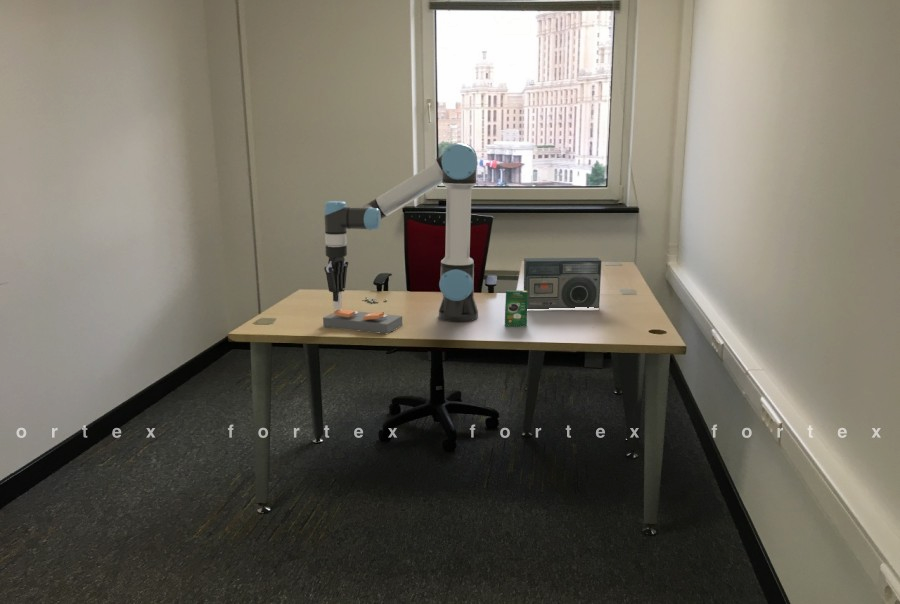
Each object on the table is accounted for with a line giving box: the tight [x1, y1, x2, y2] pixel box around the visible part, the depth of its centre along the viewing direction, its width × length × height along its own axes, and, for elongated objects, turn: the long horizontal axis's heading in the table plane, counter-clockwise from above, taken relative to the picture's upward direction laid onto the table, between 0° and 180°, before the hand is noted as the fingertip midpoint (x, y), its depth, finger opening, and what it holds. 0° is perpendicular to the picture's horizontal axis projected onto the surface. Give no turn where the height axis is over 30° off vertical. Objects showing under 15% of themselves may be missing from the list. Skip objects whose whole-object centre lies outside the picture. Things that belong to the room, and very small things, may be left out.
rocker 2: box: [363, 312, 385, 320], centre depth 239 cm, size 6×4×1 cm
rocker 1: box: [333, 308, 356, 317], centre depth 243 cm, size 6×4×1 cm
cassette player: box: [523, 257, 602, 309], centre depth 265 cm, size 29×7×20 cm, turn 90°
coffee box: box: [504, 289, 528, 327], centre depth 242 cm, size 8×3×13 cm, turn 89°
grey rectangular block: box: [322, 310, 403, 334], centre depth 244 cm, size 26×12×4 cm, turn 68°
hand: (337, 309), depth 244 cm, fingers closed
